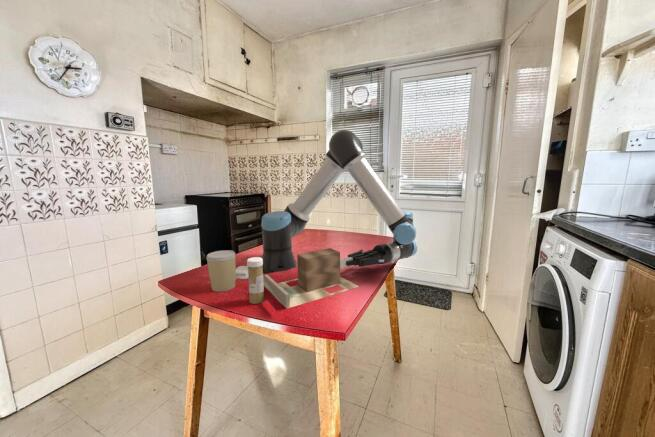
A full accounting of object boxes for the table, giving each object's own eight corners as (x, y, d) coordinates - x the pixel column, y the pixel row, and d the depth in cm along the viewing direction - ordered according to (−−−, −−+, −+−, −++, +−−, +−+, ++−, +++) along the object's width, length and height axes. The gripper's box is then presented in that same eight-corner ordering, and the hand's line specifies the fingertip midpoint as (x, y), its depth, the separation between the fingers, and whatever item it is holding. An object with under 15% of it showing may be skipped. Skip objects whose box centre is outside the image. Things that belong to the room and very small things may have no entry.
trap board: (329, 274, 100) (329, 260, 99) (359, 290, 85) (359, 274, 84) (264, 290, 86) (263, 275, 85) (286, 313, 71) (286, 295, 71)
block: (330, 277, 93) (330, 248, 91) (340, 283, 88) (340, 251, 86) (298, 285, 86) (297, 254, 84) (306, 292, 81) (305, 258, 79)
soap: (237, 271, 106) (237, 264, 105) (254, 271, 106) (254, 264, 105) (229, 280, 97) (229, 272, 96) (247, 279, 97) (247, 272, 96)
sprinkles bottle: (246, 301, 79) (243, 259, 77) (259, 296, 82) (256, 255, 80) (255, 306, 76) (252, 262, 74) (267, 300, 79) (265, 258, 77)
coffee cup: (243, 283, 93) (241, 251, 91) (225, 294, 84) (222, 259, 82) (222, 280, 96) (220, 249, 94) (202, 290, 87) (199, 256, 85)
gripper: (398, 266, 97) (348, 280, 84) (374, 258, 108) (326, 269, 95) (398, 247, 96) (348, 258, 83) (374, 240, 107) (326, 249, 94)
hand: (337, 264), depth 89 cm, fingers closed
